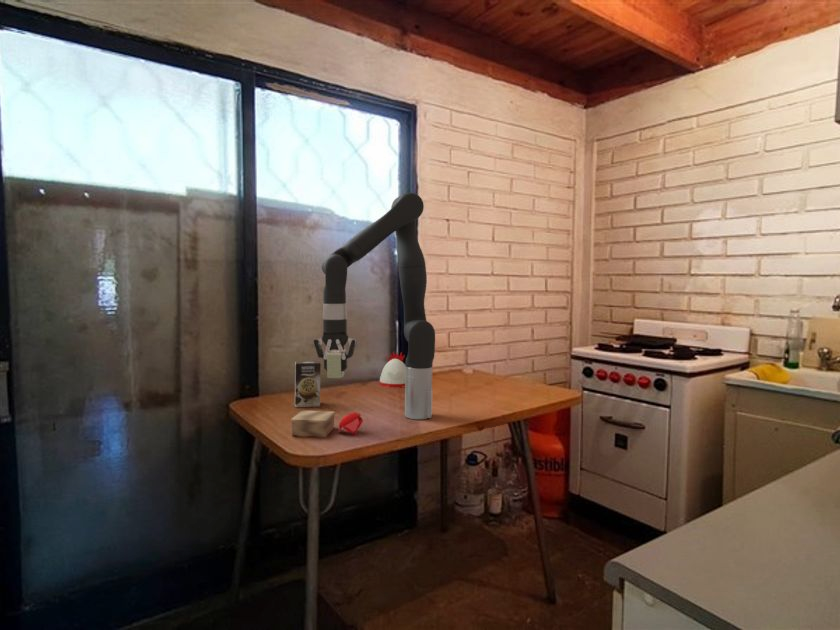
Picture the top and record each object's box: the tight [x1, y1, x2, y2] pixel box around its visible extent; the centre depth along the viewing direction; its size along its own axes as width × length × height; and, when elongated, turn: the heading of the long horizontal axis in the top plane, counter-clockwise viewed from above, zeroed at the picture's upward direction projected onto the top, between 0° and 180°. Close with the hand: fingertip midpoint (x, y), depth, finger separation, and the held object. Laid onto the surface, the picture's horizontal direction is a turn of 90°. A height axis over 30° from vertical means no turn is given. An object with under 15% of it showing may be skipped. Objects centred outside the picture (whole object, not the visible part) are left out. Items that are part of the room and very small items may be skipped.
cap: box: [338, 412, 364, 436], centre depth 150 cm, size 8×6×6 cm
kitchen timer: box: [379, 351, 406, 388], centre depth 223 cm, size 14×14×15 cm
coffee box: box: [294, 360, 322, 408], centre depth 183 cm, size 9×6×16 cm
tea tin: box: [326, 349, 345, 379], centre depth 159 cm, size 5×5×8 cm
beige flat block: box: [290, 410, 336, 438], centre depth 150 cm, size 11×11×5 cm
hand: (335, 370), depth 159 cm, fingers closed on tea tin, 4 cm apart
